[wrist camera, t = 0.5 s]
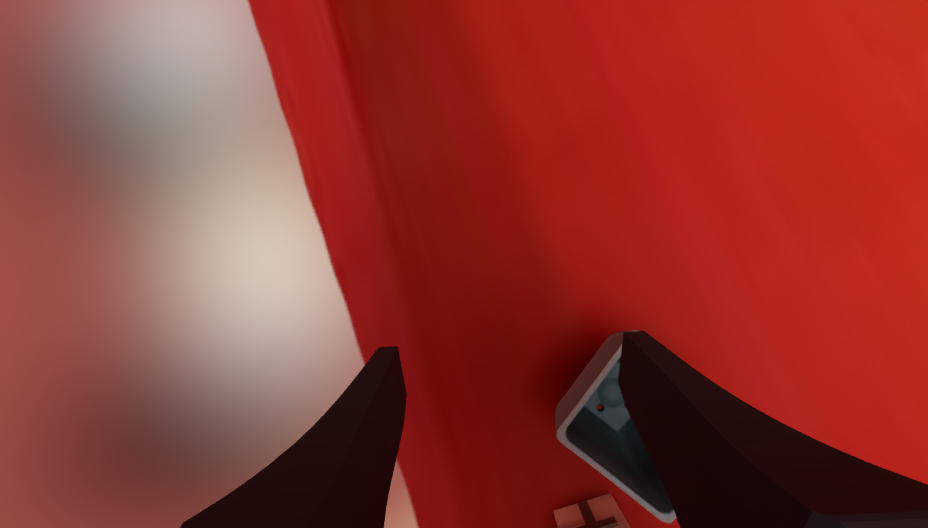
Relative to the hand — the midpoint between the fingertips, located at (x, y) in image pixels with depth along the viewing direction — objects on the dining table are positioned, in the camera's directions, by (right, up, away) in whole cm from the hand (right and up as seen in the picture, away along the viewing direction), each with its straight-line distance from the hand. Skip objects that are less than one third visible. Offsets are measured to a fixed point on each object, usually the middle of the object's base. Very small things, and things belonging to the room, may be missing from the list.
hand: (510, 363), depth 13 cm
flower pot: (+11, -7, +21) cm, 25 cm away
